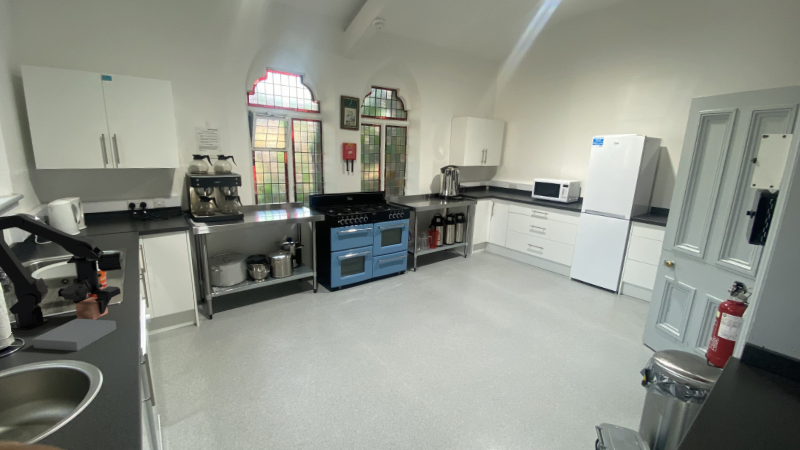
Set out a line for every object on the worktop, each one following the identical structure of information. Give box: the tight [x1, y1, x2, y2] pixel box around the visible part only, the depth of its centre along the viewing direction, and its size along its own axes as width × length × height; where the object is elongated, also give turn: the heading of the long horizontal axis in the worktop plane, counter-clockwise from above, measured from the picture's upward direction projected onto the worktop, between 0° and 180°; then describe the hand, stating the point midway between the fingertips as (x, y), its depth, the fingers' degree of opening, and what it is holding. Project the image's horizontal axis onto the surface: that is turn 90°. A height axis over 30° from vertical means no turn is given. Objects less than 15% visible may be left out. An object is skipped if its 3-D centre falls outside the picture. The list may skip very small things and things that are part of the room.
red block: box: [74, 297, 109, 320], centre depth 127 cm, size 6×6×6 cm
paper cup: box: [87, 263, 108, 298], centre depth 142 cm, size 8×8×14 cm
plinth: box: [32, 317, 117, 352], centre depth 113 cm, size 14×14×3 cm
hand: (92, 313), depth 128 cm, fingers open, 7 cm apart
